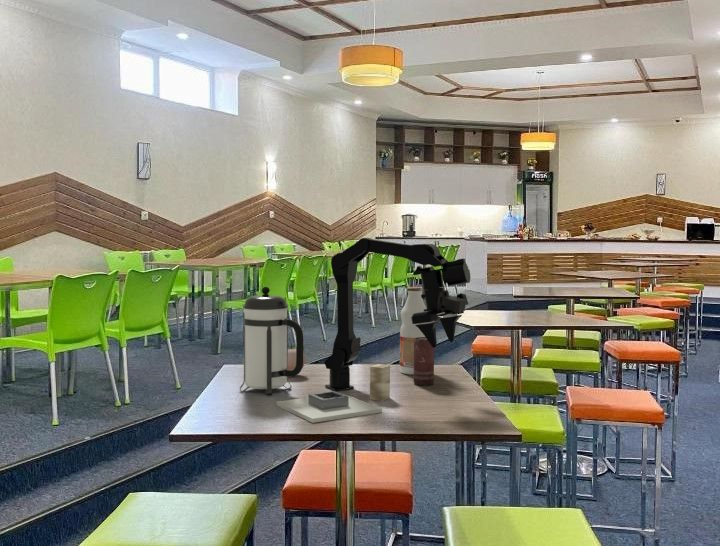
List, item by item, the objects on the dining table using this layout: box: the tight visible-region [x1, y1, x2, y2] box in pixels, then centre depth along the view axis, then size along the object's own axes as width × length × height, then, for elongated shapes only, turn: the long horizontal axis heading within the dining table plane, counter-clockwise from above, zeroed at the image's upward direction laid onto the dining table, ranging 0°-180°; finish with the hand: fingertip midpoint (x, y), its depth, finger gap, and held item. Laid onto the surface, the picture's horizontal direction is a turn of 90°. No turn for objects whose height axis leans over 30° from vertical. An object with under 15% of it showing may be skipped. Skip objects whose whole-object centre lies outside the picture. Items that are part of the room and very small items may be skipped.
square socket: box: [307, 390, 349, 410], centre depth 183 cm, size 8×8×2 cm
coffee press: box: [239, 286, 304, 397], centre depth 203 cm, size 17×16×30 cm
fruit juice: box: [399, 286, 427, 376], centre depth 231 cm, size 9×9×28 cm
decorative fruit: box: [287, 344, 307, 370], centre depth 225 cm, size 9×8×10 cm
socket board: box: [276, 392, 383, 424], centre depth 183 cm, size 20×20×1 cm
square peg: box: [369, 363, 391, 402], centre depth 195 cm, size 4×4×9 cm
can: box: [412, 337, 436, 387], centre depth 214 cm, size 6×6×14 cm
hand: (443, 344), depth 195 cm, fingers open, 9 cm apart
